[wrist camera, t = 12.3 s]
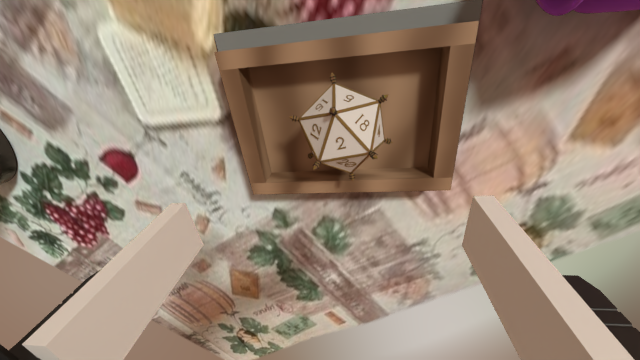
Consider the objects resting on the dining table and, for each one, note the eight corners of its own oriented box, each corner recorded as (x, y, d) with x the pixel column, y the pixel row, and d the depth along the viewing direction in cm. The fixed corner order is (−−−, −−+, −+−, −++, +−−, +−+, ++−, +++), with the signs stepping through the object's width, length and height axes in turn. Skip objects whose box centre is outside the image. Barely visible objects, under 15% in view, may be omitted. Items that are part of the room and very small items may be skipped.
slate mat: (256, 189, 34) (255, 191, 33) (215, 34, 25) (213, 34, 25) (449, 185, 30) (451, 186, 30) (480, -1, 21) (482, -1, 21)
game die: (363, 106, 29) (430, 149, 23) (311, 158, 30) (361, 215, 24) (324, 42, 23) (402, 76, 16) (258, 111, 24) (307, 171, 17)
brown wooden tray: (262, 179, 33) (253, 194, 30) (231, 49, 26) (214, 52, 23) (440, 174, 29) (450, 190, 26) (462, 22, 22) (479, 20, 19)
